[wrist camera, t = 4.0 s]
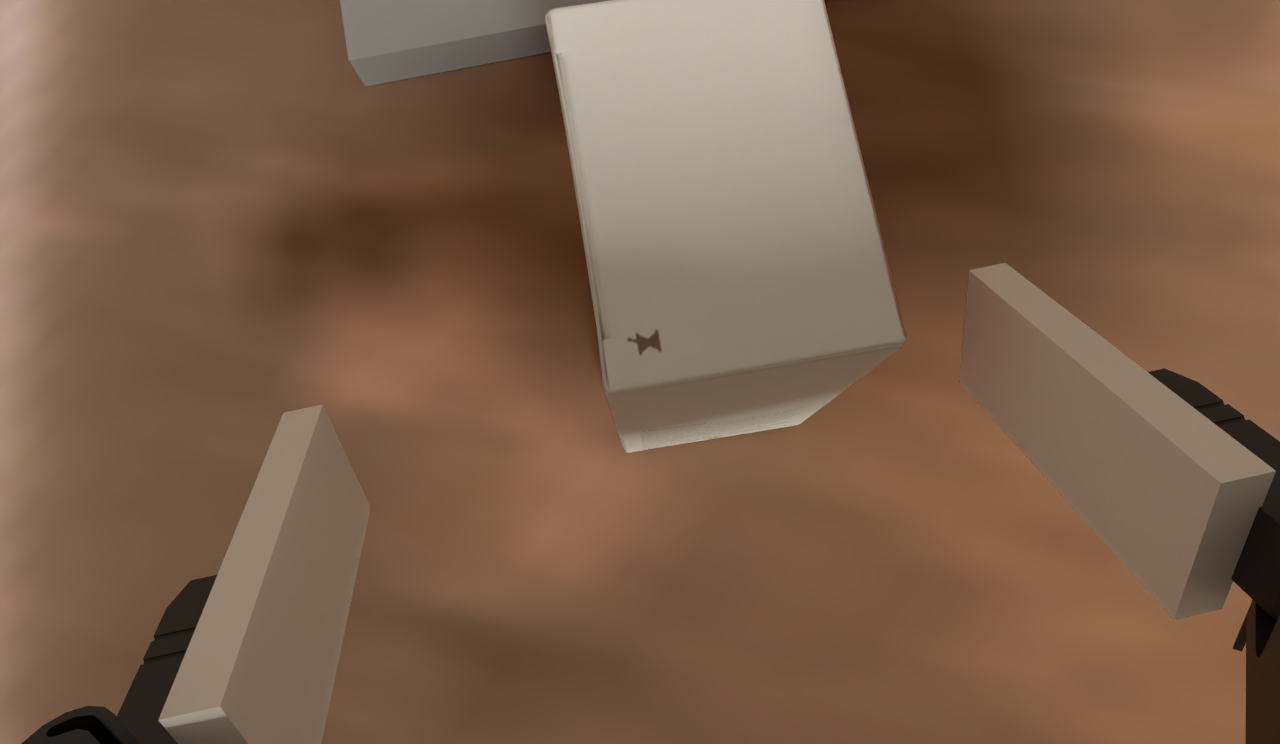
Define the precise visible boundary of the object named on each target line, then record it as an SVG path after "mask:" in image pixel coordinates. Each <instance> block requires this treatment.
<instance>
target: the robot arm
mask: <svg viewBox="0 0 1280 744" xmlns="http://www.w3.org/2000/svg"><path fill="white" fill-rule="evenodd" d="M959 382H960V384H961V385H962V386H963V387H964V388H965V389H966V390H967V391H968V392H969V393H970V395H971V396H972V397H973V398H974V399H975V400H976V401H977V402H978V403H979V405H980V406H981V407H982V408H983V409H984V410H985V411H986V412H987V413H988V415H989V416H990V417H991V418H992V419H993V420H994V421H995V422H996V423H997V425H998V426H999V427H1000V428H1001V429H1002V430H1003V431H1004V432H1005V433H1006V434H1007V436H1008V437H1009V438H1010V439H1011V440H1012V441H1013V442H1014V443H1015V444H1016V446H1017V447H1018V448H1019V449H1020V450H1021V451H1022V452H1023V453H1024V454H1025V456H1026V457H1027V458H1028V459H1029V460H1030V461H1031V462H1032V463H1033V464H1034V466H1035V467H1036V468H1037V469H1038V470H1039V471H1040V472H1041V473H1042V474H1043V475H1044V477H1045V478H1046V479H1047V480H1048V481H1049V482H1050V483H1051V484H1052V485H1053V487H1054V488H1055V489H1056V490H1057V491H1058V492H1059V493H1060V494H1061V495H1062V497H1063V498H1064V499H1065V500H1066V501H1067V502H1068V503H1069V504H1070V505H1071V507H1072V508H1073V509H1074V510H1075V511H1076V512H1077V513H1078V514H1079V515H1080V516H1081V518H1082V519H1083V520H1084V521H1085V522H1086V523H1087V524H1088V525H1089V526H1090V528H1091V529H1092V530H1093V531H1094V532H1095V533H1096V534H1097V535H1098V536H1099V538H1100V539H1101V540H1102V541H1103V542H1104V543H1105V544H1106V545H1107V546H1108V548H1109V549H1110V550H1111V551H1112V552H1113V553H1114V554H1115V555H1116V556H1117V557H1118V559H1119V560H1120V561H1121V562H1122V563H1123V564H1124V565H1125V566H1126V567H1127V569H1128V570H1129V571H1130V572H1131V573H1132V574H1133V575H1134V576H1135V577H1136V579H1137V580H1138V581H1139V582H1140V583H1141V584H1142V585H1143V586H1144V587H1145V589H1146V590H1147V591H1148V592H1149V593H1150V594H1151V595H1152V596H1153V597H1154V598H1155V600H1156V601H1157V602H1158V603H1159V604H1160V605H1161V606H1162V607H1163V608H1164V610H1165V611H1166V612H1167V613H1168V614H1169V615H1170V616H1171V617H1172V618H1173V620H1175V619H1180V618H1184V617H1188V616H1193V615H1197V614H1201V613H1206V612H1210V611H1214V610H1219V609H1222V607H1223V605H1224V602H1225V600H1226V597H1227V595H1228V592H1229V590H1230V587H1231V584H1232V582H1233V581H1234V582H1235V583H1236V584H1237V585H1238V586H1239V587H1240V588H1241V589H1242V590H1244V591H1245V592H1246V593H1247V594H1248V595H1249V596H1250V597H1251V598H1252V599H1253V600H1252V603H1251V605H1250V607H1249V610H1248V612H1247V615H1246V617H1245V619H1244V622H1243V624H1242V626H1241V629H1240V631H1239V634H1238V636H1237V638H1236V641H1235V644H1234V646H1233V649H1236V650H1239V651H1242V650H1243V647H1244V645H1245V643H1246V744H1280V442H1279V441H1278V440H1277V439H1275V438H1274V437H1272V436H1271V435H1270V434H1268V433H1267V432H1266V431H1264V430H1263V429H1261V428H1260V427H1259V426H1257V425H1256V424H1255V423H1253V422H1252V421H1250V420H1245V419H1244V415H1242V414H1241V413H1240V412H1238V411H1237V410H1235V409H1234V408H1233V407H1231V406H1230V405H1229V404H1228V405H1224V403H1223V400H1222V399H1220V398H1219V397H1218V396H1216V395H1215V394H1213V393H1212V392H1211V391H1209V390H1208V389H1207V388H1205V387H1204V386H1202V385H1201V384H1200V383H1198V382H1196V381H1194V380H1191V379H1189V378H1186V377H1184V376H1181V375H1179V374H1176V373H1174V372H1172V371H1169V370H1167V369H1160V370H1156V371H1151V372H1147V371H1145V370H1144V369H1143V368H1141V367H1140V366H1139V365H1138V364H1136V363H1135V362H1134V361H1132V360H1131V359H1130V358H1128V357H1127V356H1126V355H1125V354H1123V353H1122V352H1121V351H1119V350H1118V349H1117V348H1115V347H1114V346H1113V345H1112V344H1110V343H1109V342H1108V341H1106V340H1105V339H1104V338H1102V337H1101V336H1100V335H1099V334H1097V333H1096V332H1095V331H1093V330H1092V329H1091V328H1089V327H1088V326H1087V325H1086V324H1084V323H1083V322H1082V321H1080V320H1079V319H1078V318H1076V317H1075V316H1074V315H1073V314H1071V313H1070V312H1069V311H1067V310H1066V309H1065V308H1063V307H1062V306H1061V305H1060V304H1058V303H1057V302H1056V301H1054V300H1053V299H1052V298H1050V297H1049V296H1048V295H1047V294H1045V293H1044V292H1043V291H1041V290H1040V289H1039V288H1037V287H1036V286H1035V285H1034V284H1032V283H1031V282H1030V281H1028V280H1027V279H1026V278H1024V277H1023V276H1022V275H1021V274H1019V273H1018V272H1017V271H1015V270H1014V269H1013V268H1011V267H1010V266H1009V265H1008V264H1006V263H1002V264H997V265H992V266H987V267H982V268H978V269H973V270H969V276H968V287H967V298H966V309H965V320H964V331H963V342H962V353H961V364H960V375H959ZM369 512H370V506H369V503H368V501H367V499H366V497H365V495H364V493H363V490H362V488H361V486H360V484H359V482H358V480H357V478H356V475H355V473H354V471H353V469H352V467H351V465H350V462H349V460H348V458H347V456H346V454H345V452H344V449H343V447H342V445H341V443H340V441H339V439H338V437H337V434H336V432H335V430H334V428H333V426H332V424H331V421H330V419H329V417H328V415H327V413H326V411H325V409H324V406H323V405H319V406H314V407H309V408H304V409H299V410H295V411H290V412H285V413H283V415H282V418H281V420H280V423H279V425H278V428H277V430H276V433H275V435H274V437H273V440H272V442H271V445H270V447H269V450H268V452H267V455H266V457H265V460H264V462H263V464H262V467H261V469H260V472H259V474H258V477H257V479H256V482H255V484H254V487H253V489H252V491H251V494H250V496H249V499H248V501H247V504H246V506H245V509H244V511H243V514H242V516H241V518H240V521H239V523H238V526H237V528H236V531H235V533H234V536H233V538H232V541H231V543H230V545H229V548H228V550H227V553H226V555H225V558H224V560H223V563H222V565H221V567H220V570H219V572H218V575H215V576H210V577H205V578H201V579H196V580H191V581H190V582H189V583H188V584H187V585H186V587H185V588H184V589H183V590H182V591H181V592H180V593H179V595H178V596H177V597H176V598H175V599H174V600H173V601H172V603H171V604H170V605H169V606H168V607H167V608H166V611H165V613H164V615H163V617H162V619H161V622H160V624H159V626H158V628H157V630H156V632H155V635H154V638H155V640H154V641H152V642H151V643H150V646H149V648H148V650H147V652H146V654H145V656H144V659H143V660H144V664H143V665H140V667H139V670H138V672H137V674H136V676H135V678H134V680H133V683H132V685H131V687H130V689H129V691H128V694H127V696H126V698H125V700H124V702H123V704H122V707H121V709H120V711H119V713H118V715H117V716H116V715H115V714H113V713H112V712H111V711H109V710H108V709H106V708H105V707H95V706H86V707H83V708H79V709H76V710H73V711H70V712H66V713H64V714H63V715H61V716H59V717H57V718H55V719H54V720H52V721H50V722H48V723H47V724H45V725H43V726H42V727H41V728H39V729H38V730H37V731H36V732H35V733H34V734H32V735H31V736H30V737H29V738H28V739H26V740H25V741H24V742H23V743H22V744H321V742H322V737H323V733H324V728H325V723H326V718H327V713H328V709H329V704H330V699H331V694H332V689H333V685H334V680H335V675H336V670H337V665H338V661H339V656H340V651H341V646H342V642H343V637H344V632H345V627H346V622H347V618H348V613H349V608H350V603H351V598H352V594H353V589H354V584H355V579H356V575H357V570H358V565H359V560H360V555H361V551H362V546H363V541H364V536H365V531H366V527H367V522H368V517H369Z"/></svg>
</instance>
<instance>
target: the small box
mask: <svg viewBox="0 0 1280 744" xmlns="http://www.w3.org/2000/svg"><path fill="white" fill-rule="evenodd" d="M545 23H546V28H547V33H548V38H549V43H550V48H551V53H552V58H553V64H554V69H555V75H556V80H557V86H558V91H559V96H560V102H561V108H562V114H563V120H564V126H565V132H566V137H567V144H568V150H569V156H570V162H571V169H572V175H573V181H574V187H575V193H576V200H577V206H578V212H579V218H580V225H581V231H582V237H583V243H584V250H585V256H586V262H587V269H588V275H589V282H590V288H591V295H592V301H593V308H594V314H595V321H596V327H597V335H598V344H599V353H600V361H601V370H602V382H603V388H604V392H605V394H606V397H607V399H608V403H609V406H610V409H611V411H612V415H613V419H614V423H615V426H616V429H617V432H618V435H619V437H620V440H621V443H622V445H623V448H624V450H625V451H626V452H627V453H631V452H636V451H641V450H647V449H652V448H659V447H665V446H672V445H678V444H684V443H691V442H697V441H703V440H709V439H715V438H721V437H727V436H733V435H739V434H746V433H752V432H758V431H764V430H770V429H776V428H782V427H788V426H794V425H799V424H801V423H802V422H803V421H804V420H806V419H807V418H808V417H810V416H811V415H813V414H814V413H815V412H817V411H818V410H819V409H821V408H822V407H823V406H824V405H826V404H827V403H828V402H830V401H831V400H832V399H834V398H835V397H836V396H838V395H839V394H840V393H842V392H843V391H844V390H845V389H847V388H848V387H849V386H851V385H852V384H853V383H855V382H856V381H857V380H859V379H860V378H861V377H863V376H864V375H866V374H867V373H868V372H870V371H871V370H872V369H873V368H875V367H876V366H877V365H878V364H880V363H881V362H882V361H884V360H885V359H886V358H888V357H889V356H890V355H891V354H893V353H894V352H895V351H896V350H898V349H899V348H900V347H901V346H902V345H904V343H905V342H906V340H907V337H906V333H905V330H904V326H903V322H902V318H901V314H900V310H899V305H898V301H897V297H896V293H895V288H894V284H893V280H892V276H891V272H890V268H889V264H888V260H887V256H886V252H885V248H884V244H883V240H882V236H881V231H880V227H879V223H878V219H877V215H876V211H875V207H874V203H873V199H872V195H871V190H870V187H869V183H868V179H867V175H866V171H865V167H864V162H863V158H862V154H861V150H860V146H859V142H858V138H857V134H856V130H855V125H854V121H853V118H852V113H851V109H850V105H849V101H848V97H847V93H846V89H845V85H844V81H843V77H842V73H841V69H840V64H839V60H838V55H837V51H836V47H835V43H834V39H833V35H832V30H831V26H830V22H829V18H828V14H827V10H826V6H825V2H824V0H610V1H604V2H597V3H590V4H582V5H574V6H566V7H558V8H553V9H551V10H549V11H548V12H547V14H546V15H545Z"/></svg>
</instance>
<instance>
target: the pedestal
mask: <svg viewBox="0 0 1280 744" xmlns="http://www.w3.org/2000/svg"><path fill="white" fill-rule="evenodd" d="M604 1H610V0H340V3H341V10H342V17H343V24H344V31H345V38H346V45H347V52H348V59H349V62H350V63H351V65H352V66H353V68H354V70H355V71H356V73H357V74H358V76H359V77H360V79H361V80H362V82H363V84H364V85H365V86H371V85H376V84H381V83H387V82H392V81H397V80H403V79H408V78H414V77H419V76H424V75H430V74H435V73H440V72H446V71H451V70H457V69H462V68H467V67H473V66H478V65H483V64H489V63H494V62H500V61H505V60H510V59H516V58H521V57H526V56H532V55H537V54H543V53H548V52H551V48H550V43H549V38H548V33H547V28H546V23H545V15H546V14H547V12H548V11H549V10H551V9H553V8H558V7H566V6H574V5H582V4H590V3H597V2H604ZM824 1H827V0H824Z"/></svg>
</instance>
